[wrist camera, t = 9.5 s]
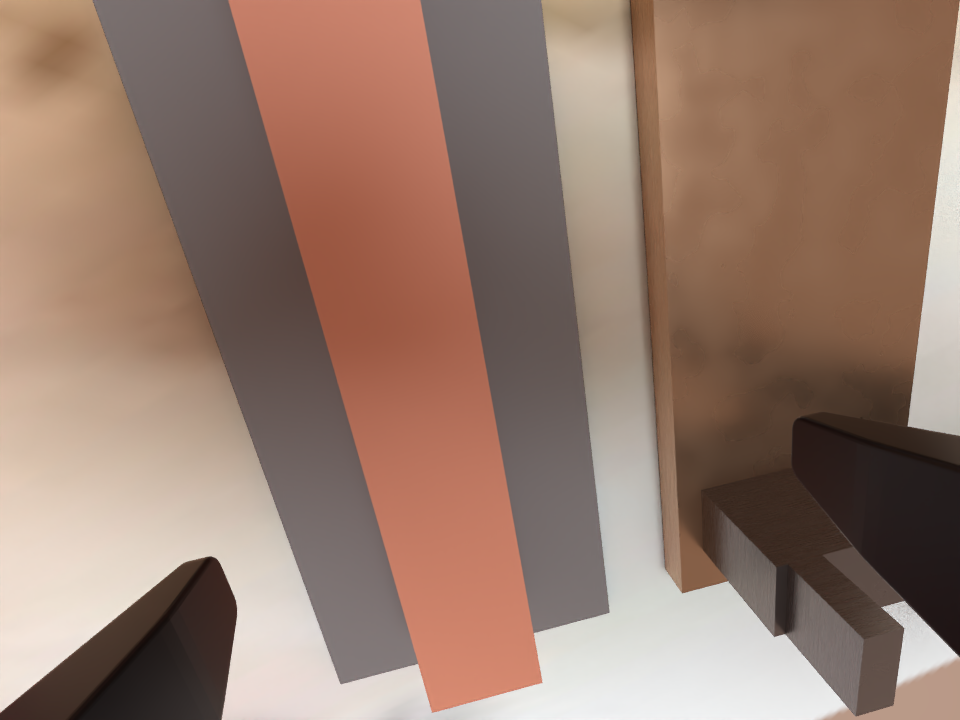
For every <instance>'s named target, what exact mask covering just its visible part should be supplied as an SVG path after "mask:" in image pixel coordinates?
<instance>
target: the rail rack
mask: <svg viewBox="0 0 960 720" xmlns="http://www.w3.org/2000/svg"><path fill="white" fill-rule="evenodd" d="M959 2H960V0H631V16H632V32H633V48H634V65H635V81H636V97H637V113H638V130H639V146H640V162H641V178H642V195H643V211H644V227H645V243H646V260H647V276H648V292H649V308H650V325H651V341H652V357H653V373H654V390H655V406H656V422H657V438H658V454H659V471H660V487H661V503H662V519H663V536H664V552H665V568H666V571H667V572H668V574H669V575H670V576H671V578H672V579H673V581H674V582H675V584H676V585H677V587H678V588H679V589H680V591H681V592H682V593H685V592H689V591H693V590H696V589H700V588H704V587H708V586H712V585H715V584H719V583H723V582H727V581H729V583H730V584H731V585H732V586H733V587H734V589H735V590H736V591H737V592H738V593H739V595H740V596H741V597H742V598H743V599H744V601H745V602H746V603H747V604H748V606H749V607H750V608H751V609H752V610H753V612H754V613H755V614H756V615H757V616H758V618H759V619H760V620H761V621H762V623H763V624H764V625H765V626H766V627H767V629H768V630H769V631H770V632H771V633H772V635H773V636H774V637H776V636H779V635H783V634H786V635H787V637H788V638H789V639H790V640H791V641H792V642H793V644H794V645H795V646H796V647H797V648H798V649H799V651H800V652H801V653H802V654H803V655H804V656H805V658H806V659H807V660H808V661H809V662H810V663H811V665H812V666H813V667H814V668H815V669H816V671H817V672H818V673H819V674H820V675H821V676H822V678H823V679H824V680H825V681H826V682H827V683H828V685H829V686H830V687H831V688H832V689H833V690H834V692H835V693H836V694H837V695H838V696H839V697H840V699H841V700H842V701H843V702H844V703H845V705H846V706H847V707H848V708H849V709H850V710H851V712H852V713H853V714H854V715H855V716H859V715H862V714H866V713H869V712H873V711H876V710H879V709H883V708H886V707H889V706H892V705H893V704H894V697H895V690H896V683H897V676H898V669H899V662H900V655H901V648H902V641H903V633H904V628H903V627H902V626H901V625H900V624H899V623H898V622H897V621H896V620H894V619H893V618H892V617H891V616H890V615H889V614H888V613H887V612H886V611H884V610H883V609H882V608H881V607H883V606H887V605H891V604H894V603H898V602H901V601H904V600H903V599H902V598H901V597H900V596H899V595H898V594H897V593H896V592H895V591H894V590H893V589H892V588H891V587H890V586H889V585H888V584H887V583H886V582H885V580H884V579H883V578H882V577H881V576H880V575H879V574H878V573H877V572H876V571H875V570H874V569H873V568H872V567H871V566H870V565H869V564H868V563H867V562H866V561H865V560H864V559H863V558H862V556H861V555H860V554H859V553H858V552H857V551H856V550H855V548H854V547H853V546H852V545H851V544H850V543H849V541H848V540H847V539H846V538H845V536H844V535H843V534H842V533H841V532H840V530H839V529H838V528H837V527H836V525H835V524H834V523H833V522H832V521H831V519H830V518H829V517H828V516H827V514H826V513H825V512H824V511H823V509H822V508H821V507H820V506H819V505H818V503H817V502H816V501H815V500H814V498H813V497H812V496H811V495H810V494H809V492H808V491H807V490H806V489H805V487H804V486H803V485H802V484H801V482H800V481H799V480H798V479H797V477H796V475H795V474H794V472H793V469H792V464H791V449H792V425H793V422H794V420H795V419H796V418H797V417H799V416H803V415H807V414H811V413H815V412H829V413H834V414H840V415H846V416H851V417H857V418H862V419H868V420H873V421H879V422H884V423H890V424H896V425H901V426H908V418H909V409H910V401H911V393H912V385H913V377H914V369H915V360H916V352H917V344H918V336H919V328H920V320H921V312H922V303H923V295H924V287H925V279H926V271H927V263H928V255H929V246H930V238H931V230H932V222H933V214H934V206H935V198H936V189H937V181H938V173H939V165H940V157H941V149H942V141H943V132H944V124H945V116H946V108H947V100H948V92H949V83H950V75H951V67H952V59H953V51H954V43H955V35H956V26H957V18H958V10H959Z"/></svg>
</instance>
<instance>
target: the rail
mask: <svg viewBox="0 0 960 720" xmlns="http://www.w3.org/2000/svg"><path fill="white" fill-rule="evenodd" d="M228 1H229V5H230V8H231V12H232V15H233V19H234V22H235V26H236V29H237V33H238V36H239V40H240V43H241V47H242V50H243V54H244V57H245V61H246V64H247V67H248V71H249V74H250V78H251V81H252V85H253V88H254V92H255V95H256V99H257V102H258V106H259V109H260V113H261V116H262V120H263V123H264V127H265V130H266V134H267V137H268V141H269V144H270V148H271V151H272V155H273V158H274V162H275V165H276V169H277V172H278V176H279V179H280V183H281V186H282V190H283V193H284V197H285V200H286V204H287V207H288V211H289V214H290V218H291V221H292V225H293V228H294V232H295V235H296V239H297V242H298V246H299V249H300V253H301V256H302V260H303V263H304V266H305V270H306V273H307V277H308V280H309V284H310V287H311V291H312V294H313V298H314V301H315V305H316V308H317V312H318V315H319V319H320V322H321V326H322V329H323V333H324V336H325V340H326V343H327V347H328V350H329V354H330V357H331V361H332V364H333V368H334V371H335V375H336V378H337V382H338V385H339V389H340V392H341V396H342V399H343V403H344V406H345V410H346V413H347V417H348V420H349V424H350V427H351V431H352V434H353V438H354V441H355V445H356V448H357V452H358V455H359V459H360V462H361V465H362V469H363V472H364V476H365V479H366V483H367V486H368V490H369V493H370V497H371V500H372V504H373V507H374V511H375V514H376V518H377V521H378V525H379V528H380V532H381V535H382V539H383V542H384V546H385V549H386V553H387V556H388V560H389V563H390V567H391V570H392V574H393V577H394V581H395V584H396V588H397V591H398V595H399V598H400V602H401V605H402V609H403V612H404V616H405V619H406V623H407V626H408V630H409V633H410V637H411V640H412V644H413V647H414V651H415V654H416V658H417V661H418V664H419V668H420V671H421V675H422V678H423V682H424V685H425V689H426V692H427V696H428V699H429V703H430V706H431V710H432V713H433V712H437V711H441V710H444V709H448V708H452V707H455V706H459V705H463V704H466V703H470V702H473V701H477V700H481V699H484V698H488V697H492V696H495V695H499V694H503V693H506V692H510V691H514V690H517V689H521V688H524V687H528V686H532V685H535V684H539V683H542V678H541V672H540V667H539V661H538V655H537V650H536V644H535V639H534V633H533V628H532V622H531V616H530V611H529V605H528V600H527V594H526V588H525V583H524V577H523V572H522V566H521V560H520V555H519V549H518V544H517V538H516V533H515V527H514V521H513V516H512V510H511V505H510V499H509V493H508V488H507V482H506V477H505V471H504V465H503V460H502V454H501V449H500V443H499V438H498V432H497V426H496V421H495V415H494V410H493V404H492V398H491V393H490V387H489V382H488V376H487V370H486V365H485V359H484V354H483V348H482V343H481V337H480V331H479V326H478V320H477V315H476V309H475V303H474V298H473V292H472V287H471V281H470V275H469V270H468V264H467V259H466V253H465V247H464V242H463V236H462V231H461V225H460V220H459V214H458V208H457V203H456V197H455V192H454V186H453V180H452V175H451V169H450V164H449V158H448V152H447V147H446V141H445V136H444V130H443V125H442V119H441V113H440V108H439V102H438V97H437V91H436V85H435V80H434V74H433V69H432V63H431V57H430V52H429V46H428V41H427V35H426V30H425V24H424V18H423V13H422V7H421V2H420V0H228Z"/></svg>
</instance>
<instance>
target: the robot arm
mask: <svg viewBox="0 0 960 720" xmlns="http://www.w3.org/2000/svg"><path fill="white" fill-rule="evenodd" d="M791 464H792V469H793V472H794V474H795V475H796V477H797V479H798V480H799V481H800V482H801V484H802V485H803V486H804V487H805V489H806V490H807V491H808V492H809V494H810V495H811V496H812V497H813V498H814V500H815V501H816V502H817V503H818V505H819V506H820V507H821V508H822V509H823V511H824V512H825V513H826V514H827V516H828V517H829V518H830V519H831V521H832V522H833V523H834V524H835V525H836V527H837V528H838V529H839V530H840V532H841V533H842V534H843V535H844V536H845V538H846V539H847V540H848V541H849V543H850V544H851V545H852V546H853V547H854V548H855V550H856V551H857V552H858V553H859V554H860V555H861V556H862V558H863V559H864V560H865V561H866V562H867V563H868V564H869V565H870V566H871V567H872V568H873V569H874V570H875V571H876V572H877V573H878V574H879V575H880V576H881V577H882V578H883V579H884V580H885V582H886V583H887V584H888V585H889V586H890V587H891V588H892V589H893V590H894V591H895V592H896V593H897V594H898V595H899V596H900V597H901V598H902V599H903V600H904V601H905V602H906V603H907V604H908V605H909V606H910V607H911V608H912V609H913V610H914V611H915V612H916V613H917V614H918V615H919V616H920V617H921V618H922V619H923V620H924V621H925V622H926V623H927V624H928V625H929V626H930V627H931V628H932V629H933V630H934V631H935V632H936V633H937V634H938V635H939V637H940V638H941V639H942V640H943V641H944V642H945V643H946V644H947V645H948V646H949V647H950V648H951V649H952V650H953V651H954V652H955V653H956V654H957V655H958V656H959V657H960V436H957V435H951V434H946V433H940V432H935V431H929V430H923V429H918V428H912V427H907V426H901V425H896V424H890V423H884V422H879V421H873V420H868V419H862V418H857V417H851V416H846V415H840V414H834V413H829V412H815V413H811V414H807V415H803V416H799V417H797V418H796V419H795V420H794V422H793V425H792V449H791ZM236 619H237V605H236V600H235V597H234V595H233V592H232V590H231V588H230V585H229V583H228V581H227V578H226V576H225V574H224V571H223V569H222V567H221V565H220V563H219V561H218V560H217V559H216V558H214V557H205V558H201V559H196V560H192V561H188V562H185V563H183V564H182V565H180V566H179V567H178V568H177V569H175V570H174V571H173V572H172V573H171V574H169V575H168V576H167V577H166V578H164V579H163V580H162V581H161V582H160V583H158V584H157V585H156V586H155V587H153V588H152V589H151V590H150V591H149V592H147V593H146V594H145V595H144V596H142V597H141V598H140V599H139V600H138V601H136V602H135V603H134V604H133V605H131V606H130V607H129V608H128V609H127V610H125V611H124V612H123V613H122V614H120V615H119V616H118V617H117V618H115V619H114V620H113V621H112V622H111V623H109V624H108V625H107V626H106V627H104V628H103V629H102V630H101V631H100V632H98V633H97V634H96V635H95V636H93V637H92V638H91V639H90V640H89V641H87V642H86V643H85V644H84V645H82V646H81V647H80V648H79V649H78V650H76V651H75V652H74V653H73V654H71V655H70V656H69V657H68V658H67V659H65V660H64V661H63V662H62V663H60V664H59V665H58V666H57V667H56V668H54V669H53V670H52V671H51V672H49V673H48V674H47V675H46V676H45V677H43V678H42V679H41V680H40V681H38V682H37V683H36V684H35V685H34V686H32V687H31V688H30V689H29V690H27V691H26V692H25V693H24V694H23V695H21V696H20V697H19V698H18V699H16V700H15V701H14V702H13V703H12V704H10V705H9V706H8V707H7V708H5V709H4V710H3V711H2V712H1V713H0V720H221V719H222V714H223V708H224V702H225V695H226V688H227V681H228V674H229V667H230V660H231V654H232V647H233V640H234V633H235V626H236Z"/></svg>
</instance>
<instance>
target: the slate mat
mask: <svg viewBox="0 0 960 720" xmlns="http://www.w3.org/2000/svg"><path fill="white" fill-rule="evenodd" d="M420 2H421V7H422V13H423V18H424V24H425V30H426V35H427V41H428V46H429V52H430V57H431V63H432V69H433V74H434V80H435V85H436V91H437V97H438V102H439V108H440V113H441V119H442V125H443V130H444V136H445V141H446V147H447V152H448V158H449V164H450V169H451V175H452V180H453V186H454V192H455V197H456V203H457V208H458V214H459V220H460V225H461V231H462V236H463V242H464V247H465V253H466V259H467V264H468V270H469V275H470V281H471V287H472V292H473V298H474V303H475V309H476V315H477V320H478V326H479V331H480V337H481V343H482V348H483V354H484V359H485V365H486V370H487V376H488V382H489V387H490V393H491V398H492V404H493V410H494V415H495V421H496V426H497V432H498V438H499V443H500V449H501V454H502V460H503V465H504V471H505V477H506V482H507V488H508V493H509V499H510V505H511V510H512V516H513V521H514V527H515V533H516V538H517V544H518V549H519V555H520V560H521V566H522V572H523V577H524V583H525V588H526V594H527V600H528V605H529V611H530V616H531V622H532V628H533V633H535V632H539V631H543V630H547V629H550V628H554V627H558V626H562V625H565V624H569V623H573V622H577V621H580V620H584V619H588V618H592V617H596V616H599V615H603V614H607V613H609V604H608V595H607V586H606V577H605V568H604V559H603V550H602V541H601V533H600V524H599V515H598V506H597V497H596V488H595V479H594V470H593V461H592V452H591V443H590V434H589V425H588V416H587V407H586V398H585V389H584V380H583V371H582V362H581V353H580V345H579V336H578V327H577V318H576V309H575V300H574V291H573V282H572V273H571V264H570V255H569V246H568V237H567V228H566V219H565V210H564V201H563V192H562V183H561V174H560V165H559V156H558V148H557V139H556V130H555V121H554V112H553V103H552V94H551V85H550V76H549V67H548V58H547V49H546V40H545V31H544V22H543V13H542V4H541V0H420ZM93 3H94V6H95V8H96V11H97V14H98V17H99V19H100V22H101V25H102V28H103V30H104V33H105V36H106V39H107V42H108V44H109V47H110V50H111V53H112V55H113V58H114V61H115V64H116V66H117V69H118V72H119V75H120V77H121V80H122V83H123V86H124V88H125V91H126V94H127V97H128V99H129V102H130V105H131V108H132V110H133V113H134V116H135V119H136V121H137V124H138V127H139V130H140V132H141V135H142V138H143V141H144V143H145V146H146V149H147V152H148V155H149V157H150V160H151V163H152V166H153V168H154V171H155V174H156V177H157V179H158V182H159V185H160V188H161V190H162V193H163V196H164V199H165V201H166V204H167V207H168V210H169V212H170V215H171V218H172V221H173V223H174V226H175V229H176V232H177V234H178V237H179V240H180V243H181V245H182V248H183V251H184V254H185V256H186V259H187V262H188V265H189V268H190V270H191V273H192V276H193V279H194V281H195V284H196V287H197V290H198V292H199V295H200V298H201V301H202V303H203V306H204V309H205V312H206V314H207V317H208V320H209V323H210V325H211V328H212V331H213V334H214V336H215V339H216V342H217V345H218V347H219V350H220V353H221V356H222V358H223V361H224V364H225V367H226V369H227V372H228V375H229V378H230V381H231V383H232V386H233V389H234V392H235V394H236V397H237V400H238V403H239V405H240V408H241V411H242V414H243V416H244V419H245V422H246V425H247V427H248V430H249V433H250V436H251V438H252V441H253V444H254V447H255V449H256V452H257V455H258V458H259V460H260V463H261V466H262V469H263V471H264V474H265V477H266V480H267V482H268V485H269V488H270V491H271V494H272V496H273V499H274V502H275V505H276V507H277V510H278V513H279V516H280V518H281V521H282V524H283V527H284V529H285V532H286V535H287V538H288V540H289V543H290V546H291V549H292V551H293V554H294V557H295V560H296V562H297V565H298V568H299V571H300V573H301V576H302V579H303V582H304V584H305V587H306V590H307V593H308V595H309V598H310V601H311V604H312V607H313V609H314V612H315V615H316V618H317V620H318V623H319V626H320V629H321V631H322V634H323V637H324V640H325V642H326V645H327V648H328V651H329V653H330V656H331V659H332V662H333V664H334V667H335V670H336V673H337V675H338V678H339V681H340V684H344V683H347V682H351V681H355V680H359V679H362V678H366V677H370V676H374V675H377V674H381V673H385V672H389V671H393V670H396V669H400V668H404V667H408V666H411V665H415V664H418V661H417V658H416V654H415V651H414V647H413V644H412V640H411V637H410V633H409V630H408V626H407V623H406V619H405V616H404V612H403V609H402V605H401V602H400V598H399V595H398V591H397V588H396V584H395V581H394V577H393V574H392V570H391V567H390V563H389V560H388V556H387V553H386V549H385V546H384V542H383V539H382V535H381V532H380V528H379V525H378V521H377V518H376V514H375V511H374V507H373V504H372V500H371V497H370V493H369V490H368V486H367V483H366V479H365V476H364V472H363V469H362V465H361V462H360V459H359V455H358V452H357V448H356V445H355V441H354V438H353V434H352V431H351V427H350V424H349V420H348V417H347V413H346V410H345V406H344V403H343V399H342V396H341V392H340V389H339V385H338V382H337V378H336V375H335V371H334V368H333V364H332V361H331V357H330V354H329V350H328V347H327V343H326V340H325V336H324V333H323V329H322V326H321V322H320V319H319V315H318V312H317V308H316V305H315V301H314V298H313V294H312V291H311V287H310V284H309V280H308V277H307V273H306V270H305V266H304V263H303V260H302V256H301V253H300V249H299V246H298V242H297V239H296V235H295V232H294V228H293V225H292V221H291V218H290V214H289V211H288V207H287V204H286V200H285V197H284V193H283V190H282V186H281V183H280V179H279V176H278V172H277V169H276V165H275V162H274V158H273V155H272V151H271V148H270V144H269V141H268V137H267V134H266V130H265V127H264V123H263V120H262V116H261V113H260V109H259V106H258V102H257V99H256V95H255V92H254V88H253V85H252V81H251V78H250V74H249V71H248V67H247V64H246V61H245V57H244V54H243V50H242V47H241V43H240V40H239V36H238V33H237V29H236V26H235V22H234V19H233V15H232V12H231V8H230V5H229V1H228V0H93Z"/></svg>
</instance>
